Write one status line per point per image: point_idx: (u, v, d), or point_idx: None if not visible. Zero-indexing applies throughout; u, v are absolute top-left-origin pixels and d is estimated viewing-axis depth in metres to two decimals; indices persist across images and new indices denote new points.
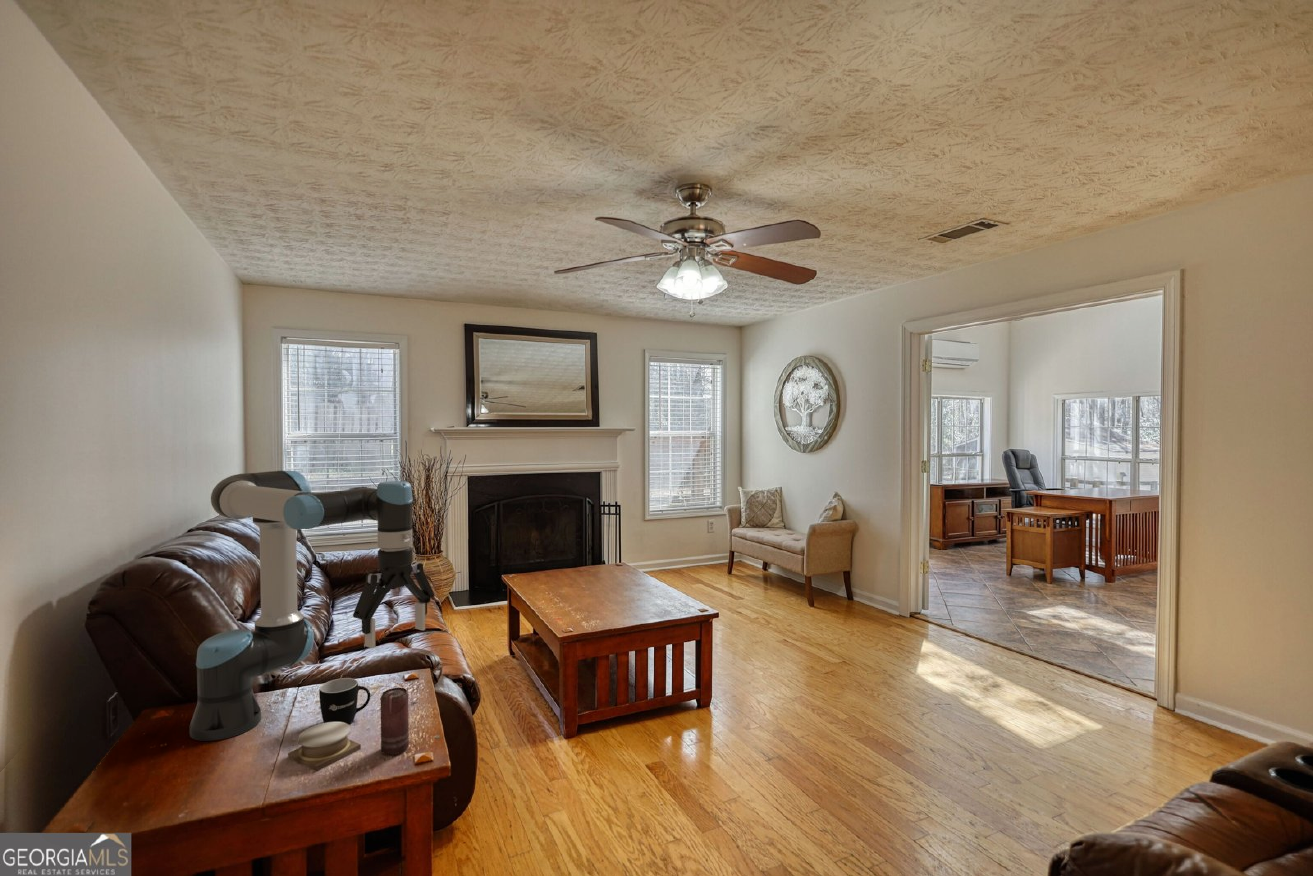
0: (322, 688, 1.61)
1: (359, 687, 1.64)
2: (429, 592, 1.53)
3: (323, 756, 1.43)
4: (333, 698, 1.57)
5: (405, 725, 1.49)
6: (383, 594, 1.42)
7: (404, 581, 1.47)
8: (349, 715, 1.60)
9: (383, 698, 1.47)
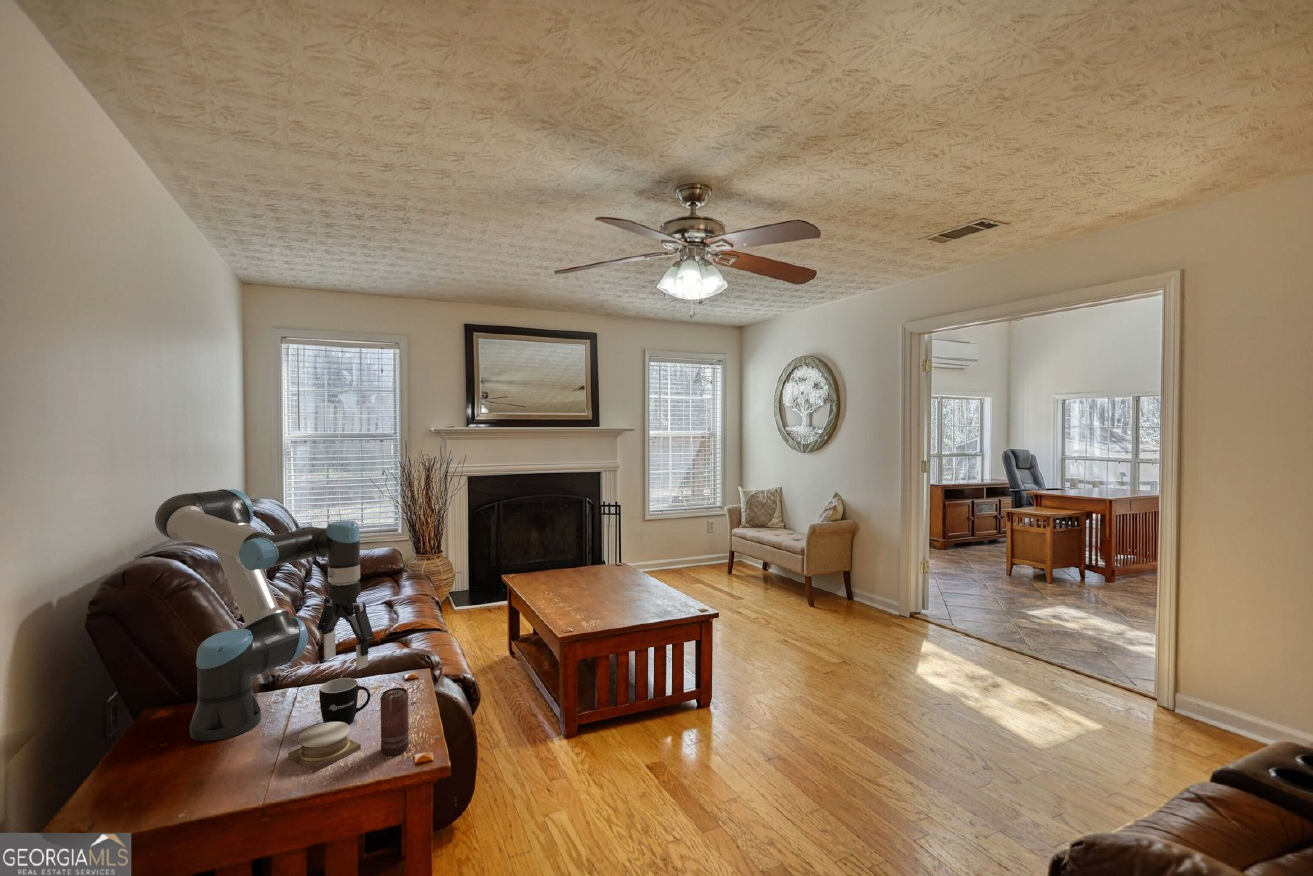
0: (322, 688, 1.61)
1: (359, 687, 1.64)
2: (362, 636, 1.57)
3: (323, 756, 1.43)
4: (333, 698, 1.58)
5: (405, 725, 1.49)
6: (330, 617, 1.63)
7: None
8: (349, 715, 1.60)
9: (383, 698, 1.47)
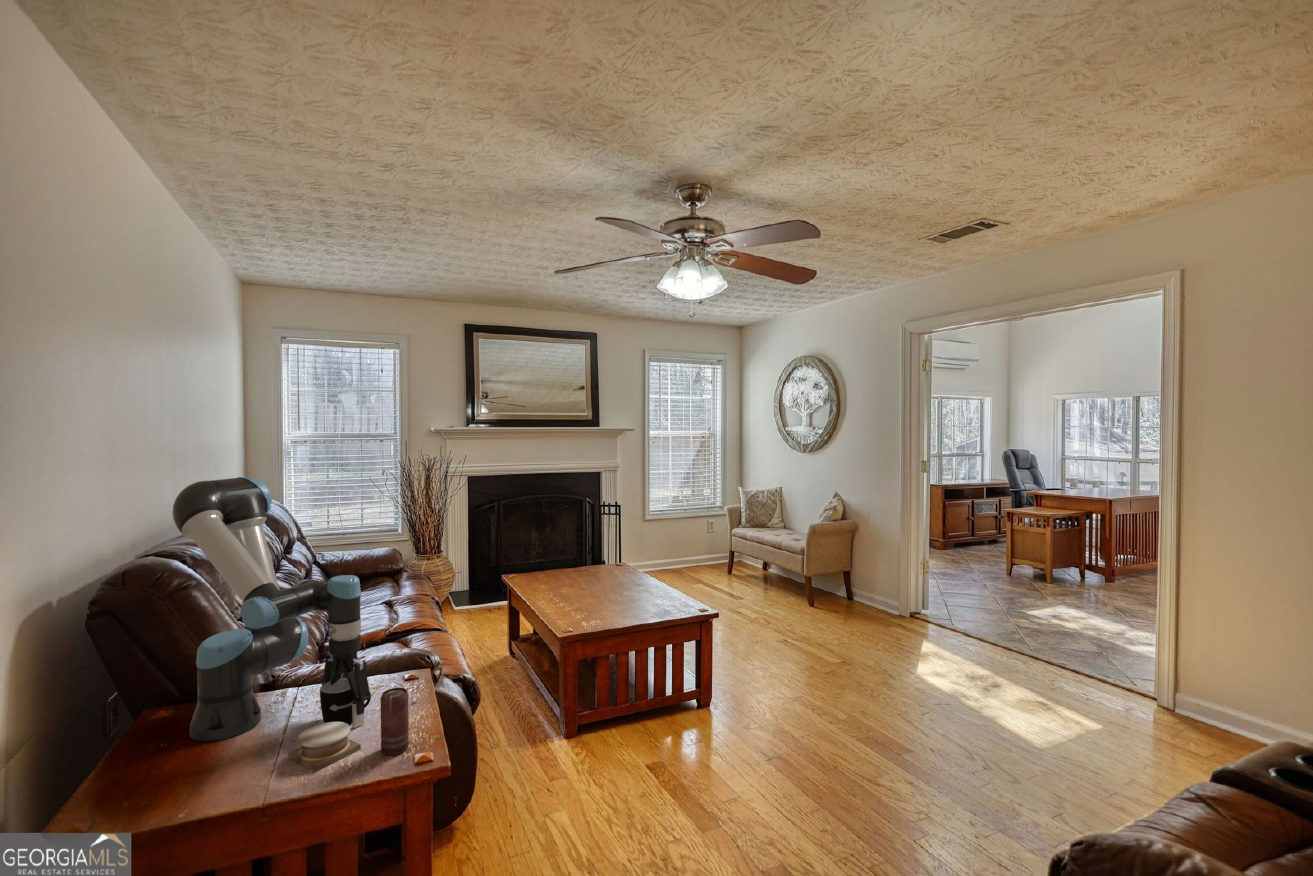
0: (323, 688, 1.61)
1: None
2: (358, 695, 1.58)
3: (323, 756, 1.43)
4: (334, 698, 1.57)
5: (405, 725, 1.49)
6: (333, 674, 1.63)
7: None
8: (350, 715, 1.60)
9: (383, 698, 1.47)
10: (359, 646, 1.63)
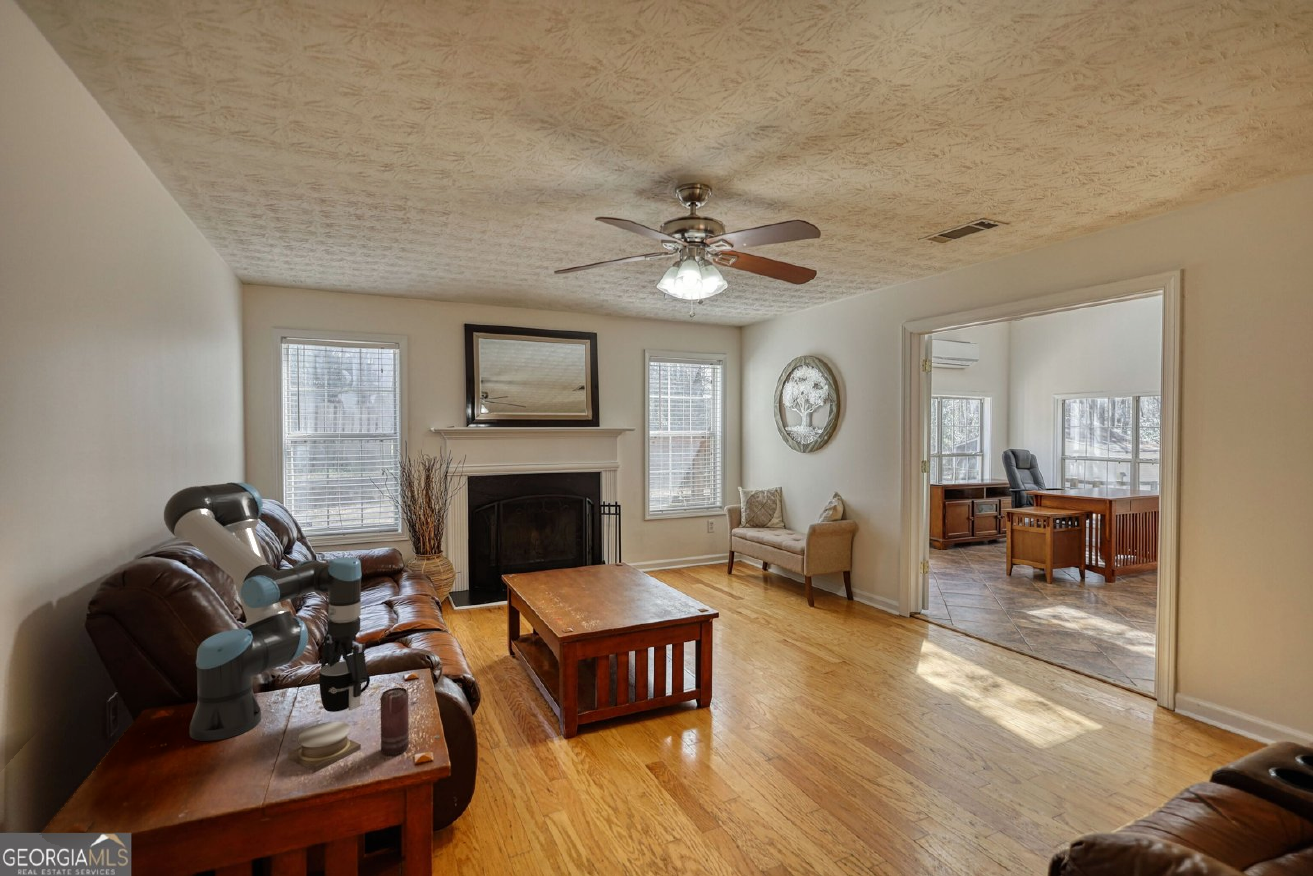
0: (322, 670, 1.61)
1: None
2: (356, 677, 1.58)
3: (323, 756, 1.43)
4: (333, 681, 1.57)
5: (405, 725, 1.49)
6: (332, 656, 1.63)
7: None
8: (348, 698, 1.60)
9: (383, 698, 1.47)
10: (358, 628, 1.62)
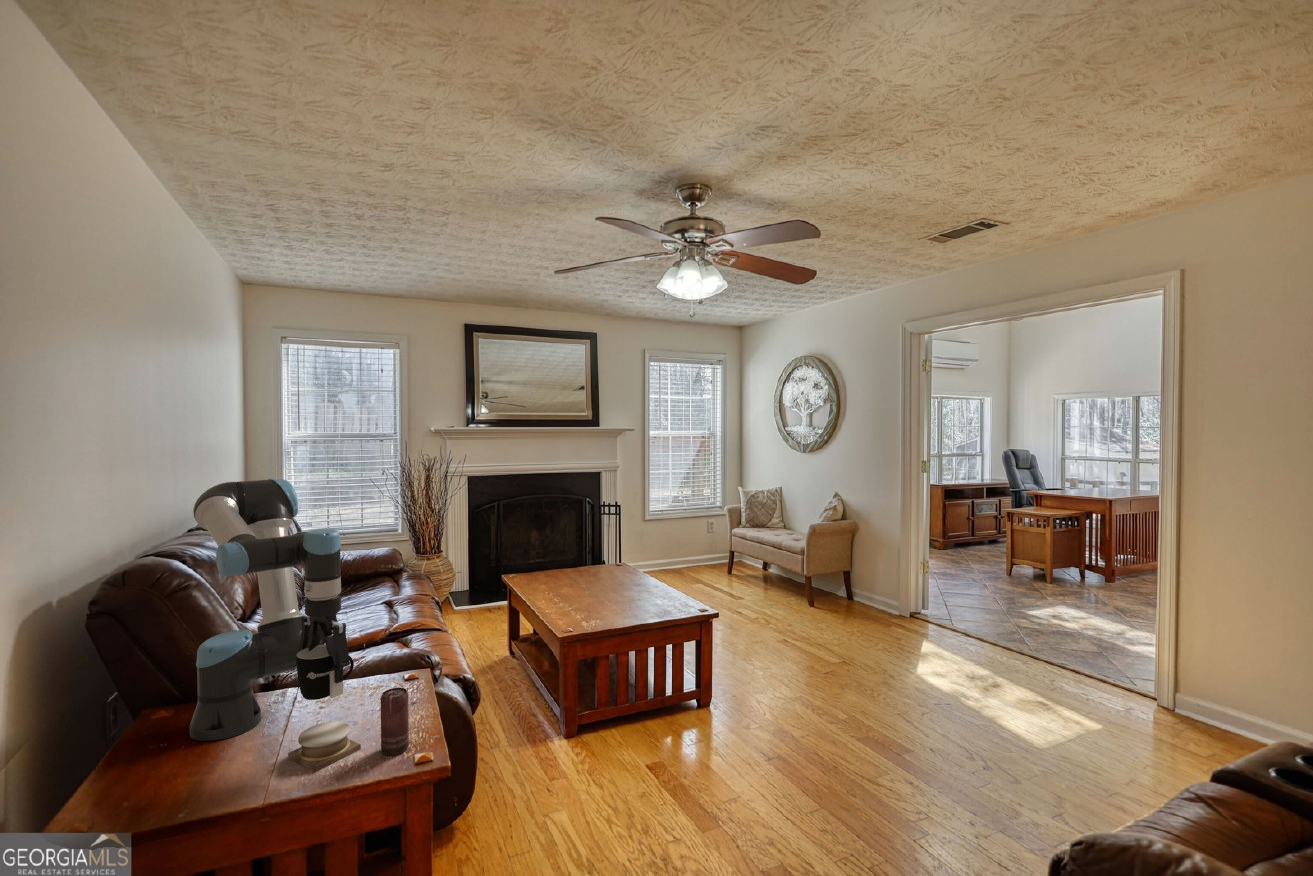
0: (300, 655, 1.45)
1: None
2: (336, 661, 1.43)
3: (323, 756, 1.43)
4: (311, 665, 1.41)
5: (405, 725, 1.49)
6: (310, 639, 1.47)
7: None
8: (329, 684, 1.44)
9: (383, 698, 1.47)
10: (339, 607, 1.47)
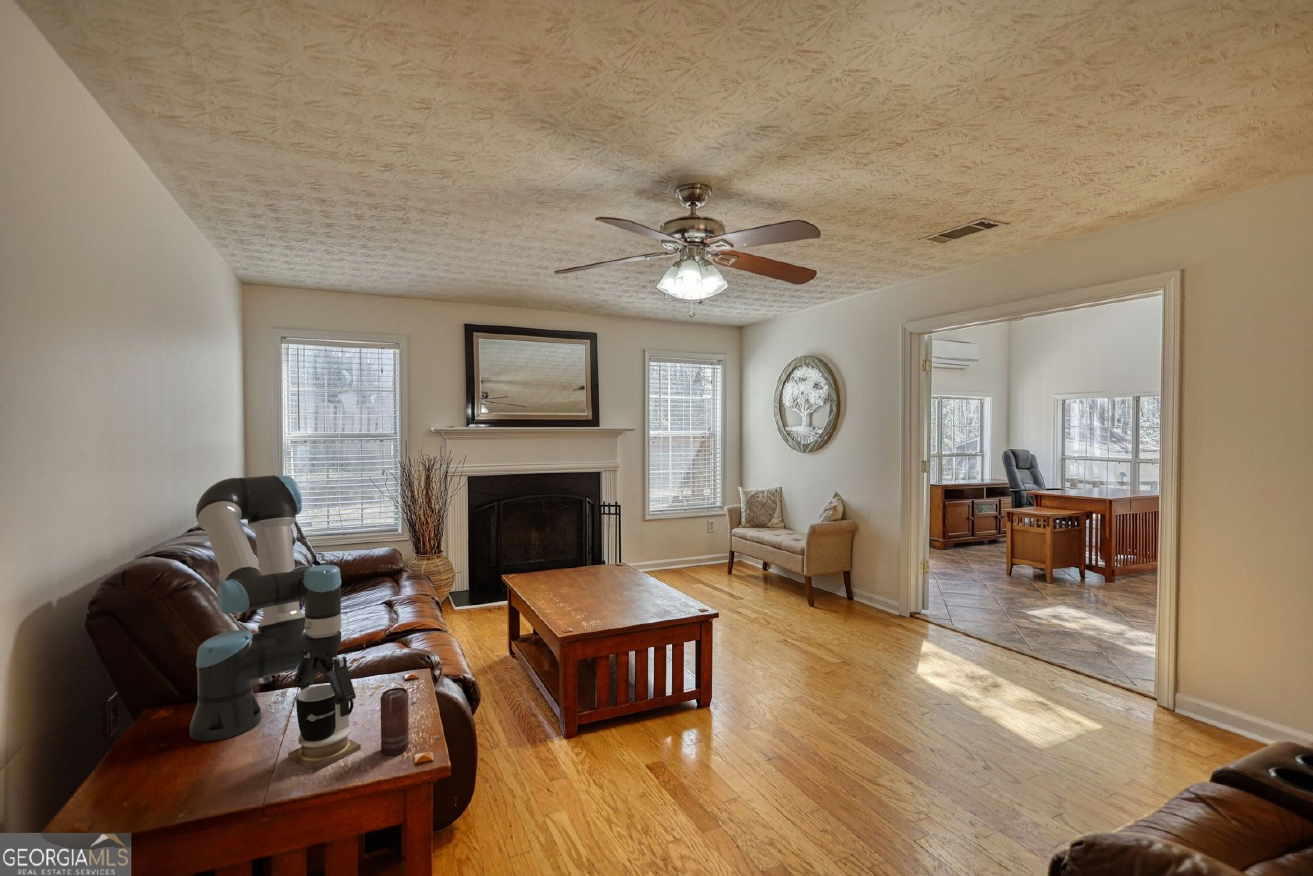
0: (299, 696, 1.46)
1: None
2: (342, 695, 1.42)
3: (323, 756, 1.43)
4: (311, 707, 1.42)
5: (405, 725, 1.49)
6: (308, 671, 1.48)
7: None
8: (329, 726, 1.45)
9: (383, 698, 1.47)
10: (339, 643, 1.47)
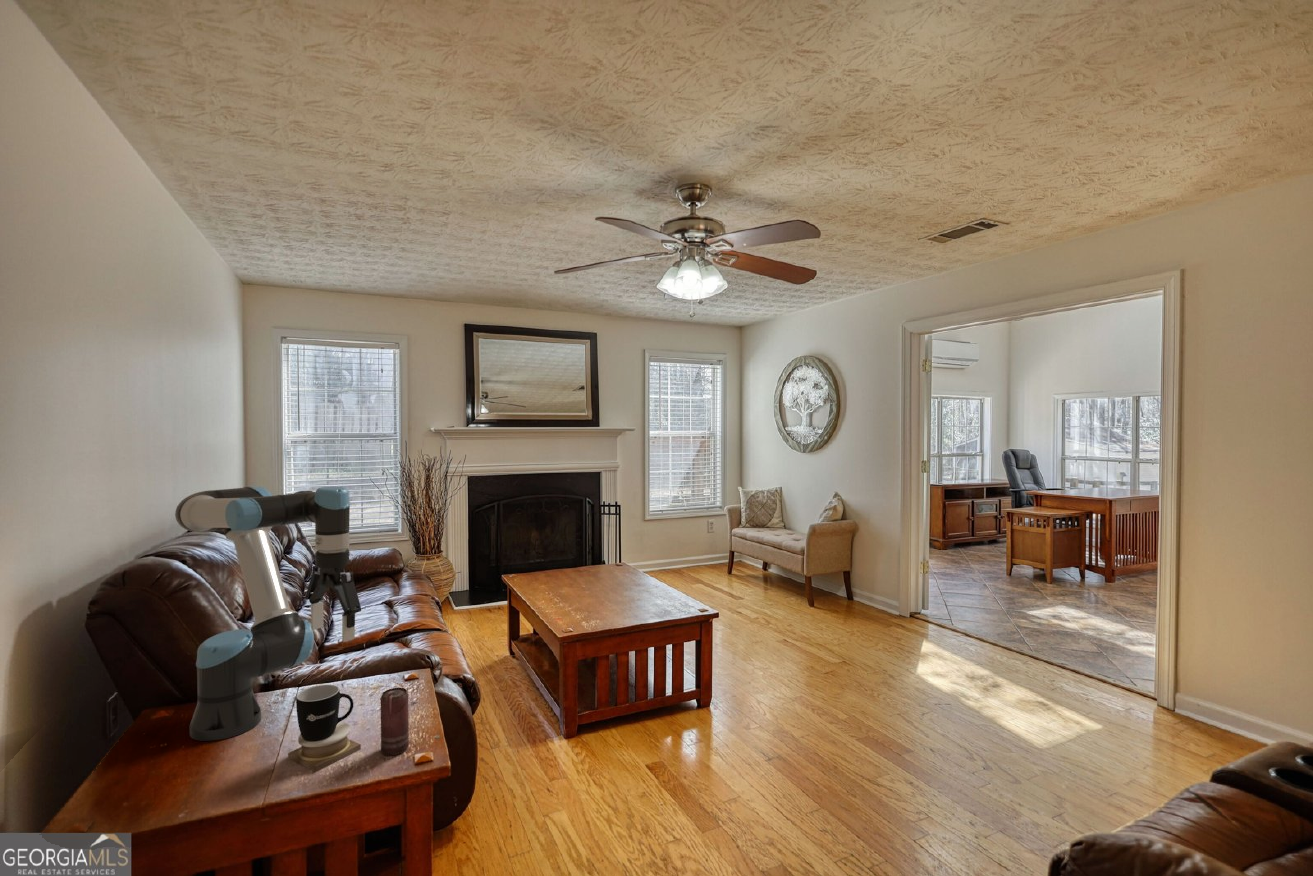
0: (299, 696, 1.46)
1: (341, 695, 1.49)
2: (348, 607, 1.50)
3: (323, 756, 1.43)
4: (311, 707, 1.42)
5: (405, 725, 1.49)
6: (318, 586, 1.56)
7: None
8: (329, 726, 1.45)
9: (383, 698, 1.47)
10: (347, 560, 1.55)
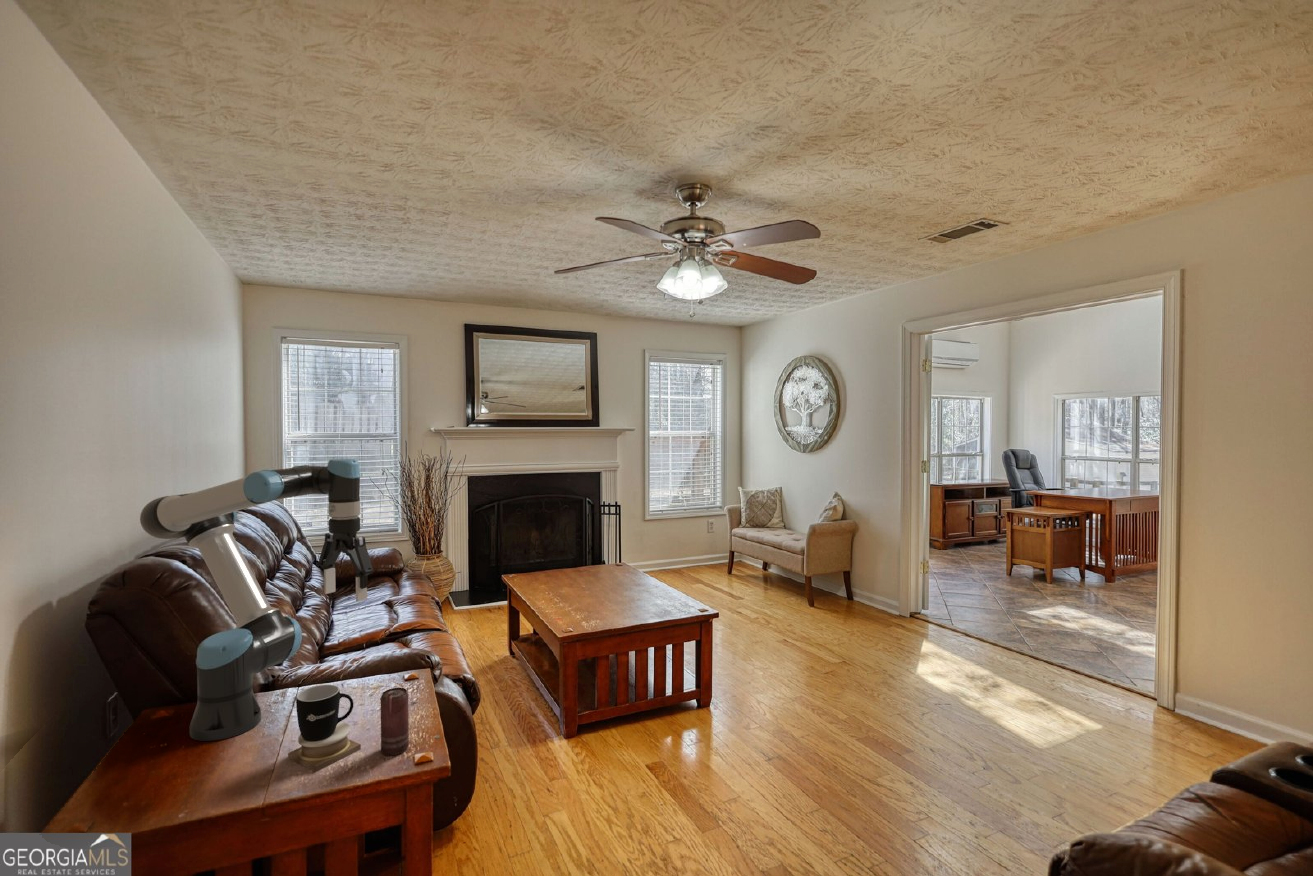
0: (299, 696, 1.46)
1: (341, 695, 1.49)
2: (361, 568, 1.61)
3: (323, 756, 1.43)
4: (311, 707, 1.42)
5: (405, 725, 1.49)
6: (331, 552, 1.67)
7: None
8: (329, 726, 1.45)
9: (383, 698, 1.47)
10: (358, 527, 1.66)
